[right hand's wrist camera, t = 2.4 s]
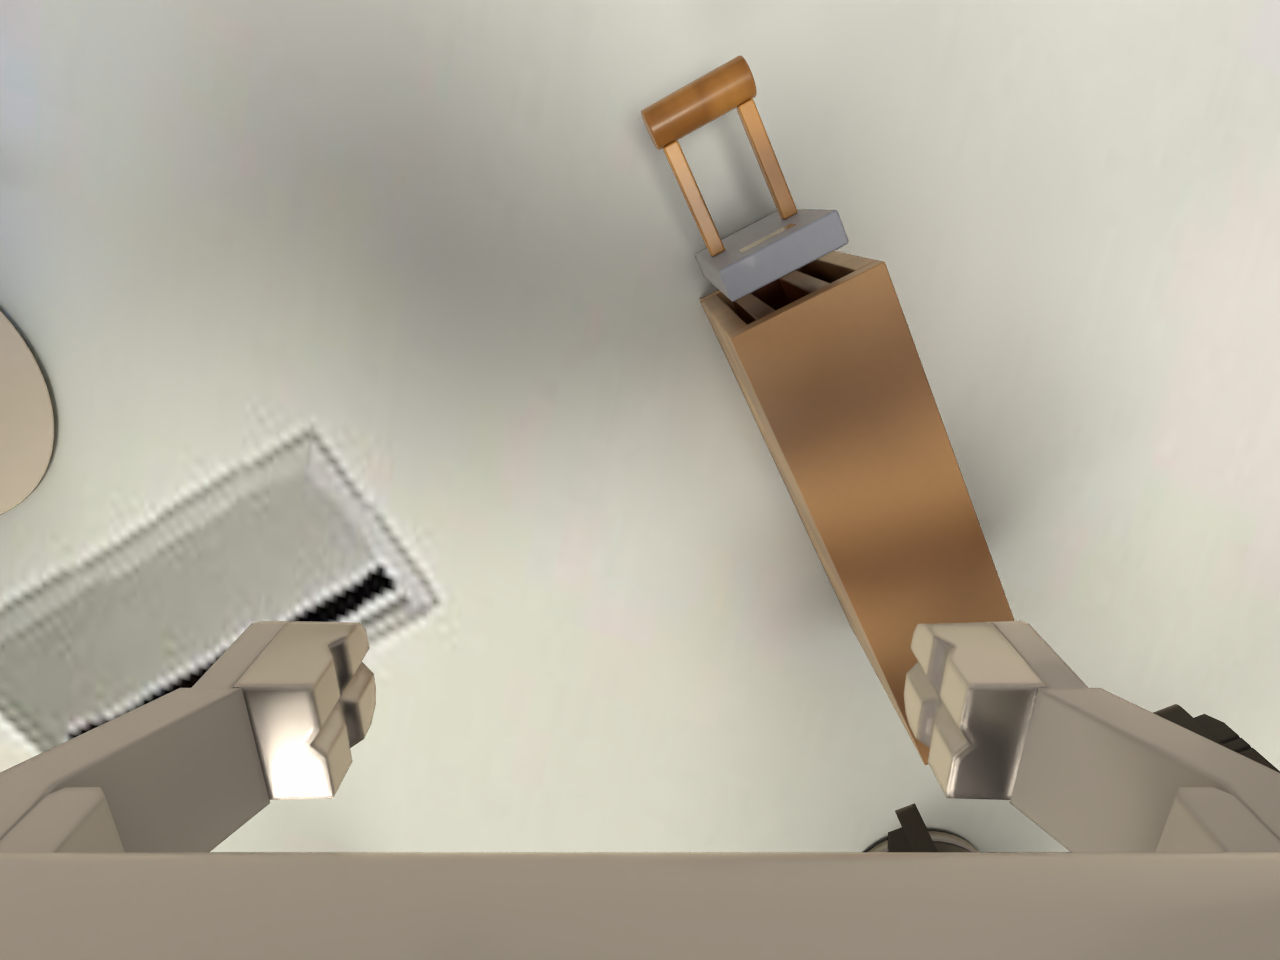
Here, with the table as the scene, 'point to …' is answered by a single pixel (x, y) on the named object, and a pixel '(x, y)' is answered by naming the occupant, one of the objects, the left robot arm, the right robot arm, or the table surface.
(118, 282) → the table surface
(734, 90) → the drawer
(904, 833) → the left robot arm
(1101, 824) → the right robot arm
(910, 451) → the cabinet
